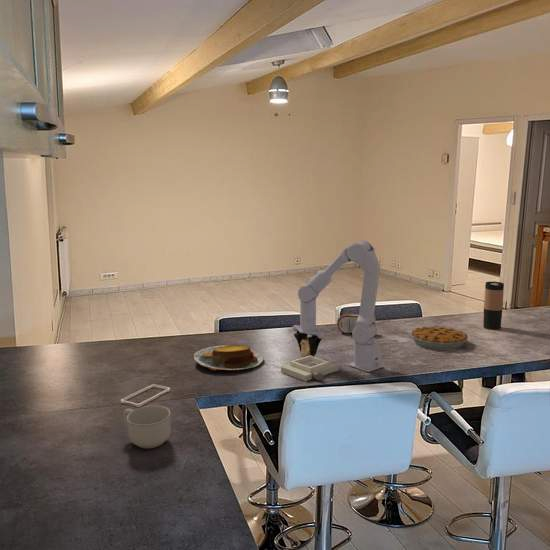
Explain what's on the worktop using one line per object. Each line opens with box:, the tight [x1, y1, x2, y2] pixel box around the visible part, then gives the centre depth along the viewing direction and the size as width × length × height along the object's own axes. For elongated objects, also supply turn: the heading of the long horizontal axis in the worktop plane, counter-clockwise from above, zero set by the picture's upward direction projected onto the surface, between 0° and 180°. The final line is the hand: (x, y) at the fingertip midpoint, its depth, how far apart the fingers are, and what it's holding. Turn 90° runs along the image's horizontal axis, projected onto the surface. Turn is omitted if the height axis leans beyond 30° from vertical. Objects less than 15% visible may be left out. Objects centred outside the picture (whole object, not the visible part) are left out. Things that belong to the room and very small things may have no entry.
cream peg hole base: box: [280, 356, 340, 382], centre depth 196 cm, size 15×16×4 cm
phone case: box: [120, 383, 171, 408], centre depth 176 cm, size 7×1×15 cm
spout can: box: [300, 336, 316, 358], centre depth 211 cm, size 5×6×7 cm
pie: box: [410, 326, 468, 351], centre depth 229 cm, size 22×22×5 cm
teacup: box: [122, 404, 172, 450], centre depth 145 cm, size 14×11×8 cm
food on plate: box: [193, 345, 264, 371], centre depth 207 cm, size 26×25×7 cm
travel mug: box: [482, 281, 505, 331], centre depth 250 cm, size 8×8×20 cm
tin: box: [336, 313, 359, 334], centre depth 243 cm, size 15×3×8 cm, turn 84°
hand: (308, 353), depth 211 cm, fingers closed on spout can, 5 cm apart
